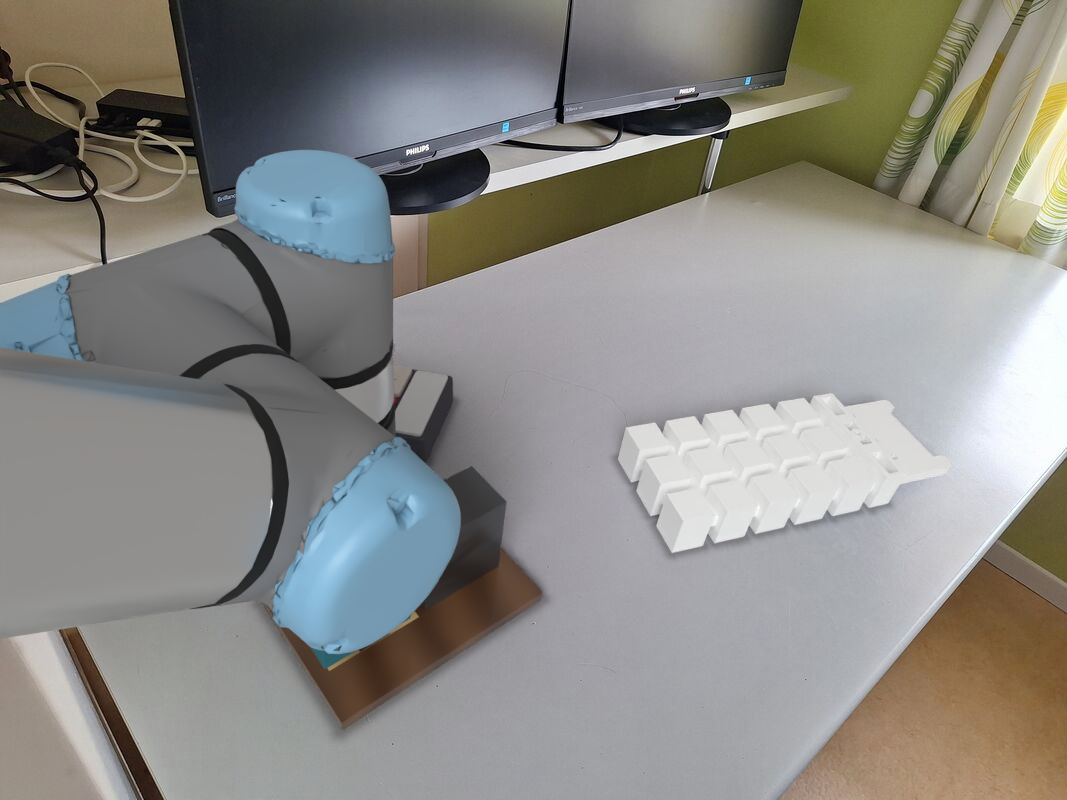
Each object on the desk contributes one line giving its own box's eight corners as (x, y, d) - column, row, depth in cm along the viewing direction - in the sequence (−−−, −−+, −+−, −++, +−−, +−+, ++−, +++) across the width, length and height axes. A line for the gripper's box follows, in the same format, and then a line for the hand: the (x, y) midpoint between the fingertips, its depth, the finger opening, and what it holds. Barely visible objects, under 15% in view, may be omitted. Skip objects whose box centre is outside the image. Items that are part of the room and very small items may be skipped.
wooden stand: (342, 730, 58) (333, 660, 51) (261, 602, 66) (244, 526, 59) (541, 600, 69) (555, 527, 62) (452, 502, 76) (456, 429, 70)
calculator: (326, 348, 87) (453, 370, 85) (331, 378, 90) (454, 399, 88) (283, 409, 78) (423, 435, 77) (290, 440, 81) (425, 465, 80)
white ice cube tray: (625, 427, 80) (888, 383, 91) (617, 459, 83) (872, 413, 94) (683, 521, 71) (967, 460, 82) (671, 553, 74) (946, 490, 85)
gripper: (469, 467, 45) (454, 671, 60) (318, 313, 55) (338, 521, 70) (355, 524, 41) (371, 727, 56) (215, 346, 51) (260, 560, 66)
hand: (353, 612), depth 63 cm, fingers open, 5 cm apart
